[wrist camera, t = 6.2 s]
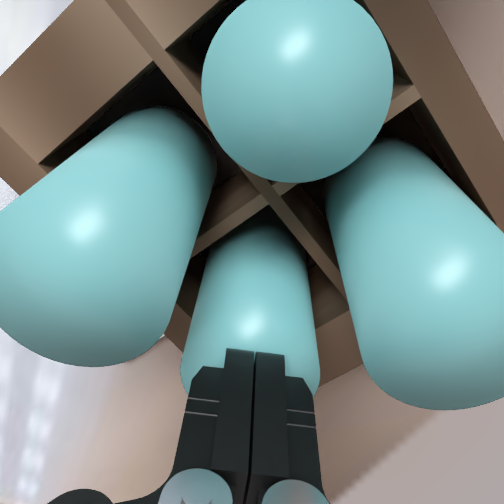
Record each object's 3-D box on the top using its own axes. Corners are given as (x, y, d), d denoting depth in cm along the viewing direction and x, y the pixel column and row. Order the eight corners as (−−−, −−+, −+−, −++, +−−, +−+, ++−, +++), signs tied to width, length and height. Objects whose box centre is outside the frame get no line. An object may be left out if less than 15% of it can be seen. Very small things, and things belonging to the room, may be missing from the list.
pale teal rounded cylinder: (163, 79, 14) (65, 151, 7) (239, 173, 15) (215, 307, 9) (80, 152, 15) (-69, 271, 9) (157, 234, 16) (80, 393, 10)
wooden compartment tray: (293, -171, 13) (300, -233, 10) (508, 206, 18) (566, 256, 15) (17, 101, 17) (-51, 128, 13) (257, 352, 22) (254, 420, 18)
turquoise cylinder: (400, 112, 14) (512, 211, 8) (456, 202, 15) (594, 355, 9) (301, 182, 15) (322, 321, 9) (360, 260, 17) (418, 435, 10)
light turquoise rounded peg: (267, 183, 18) (263, 293, 11) (321, 252, 19) (347, 387, 12) (193, 235, 19) (151, 363, 12) (250, 297, 20) (238, 443, 14)
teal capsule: (299, -38, 14) (322, -68, 8) (362, 63, 16) (428, 110, 9) (209, 42, 16) (161, 73, 9) (274, 130, 17) (276, 215, 10)
